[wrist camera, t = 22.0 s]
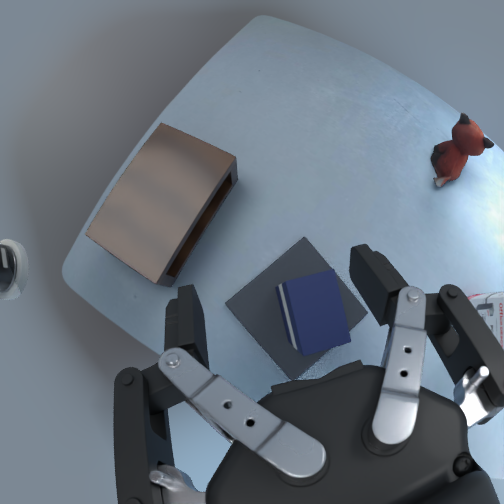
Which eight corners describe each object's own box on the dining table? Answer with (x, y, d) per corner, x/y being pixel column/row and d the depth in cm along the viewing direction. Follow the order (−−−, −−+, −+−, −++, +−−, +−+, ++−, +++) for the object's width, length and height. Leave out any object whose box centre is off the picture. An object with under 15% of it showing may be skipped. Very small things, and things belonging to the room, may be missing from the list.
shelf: (171, 287, 39) (155, 284, 32) (107, 244, 40) (84, 234, 33) (238, 179, 42) (236, 156, 35) (172, 146, 43) (161, 122, 36)
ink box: (458, 299, 39) (507, 295, 27) (477, 293, 39) (524, 288, 27) (461, 349, 38) (509, 356, 26) (480, 341, 38) (526, 345, 26)
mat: (291, 380, 37) (292, 381, 36) (225, 303, 39) (224, 303, 38) (366, 312, 39) (368, 312, 38) (303, 237, 40) (304, 236, 40)
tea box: (288, 341, 37) (303, 356, 27) (274, 287, 39) (285, 280, 28) (324, 331, 38) (351, 342, 27) (311, 277, 39) (334, 268, 28)
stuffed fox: (417, 178, 42) (456, 146, 31) (430, 135, 44) (463, 102, 32) (449, 203, 42) (492, 178, 30) (459, 158, 43) (495, 130, 32)
